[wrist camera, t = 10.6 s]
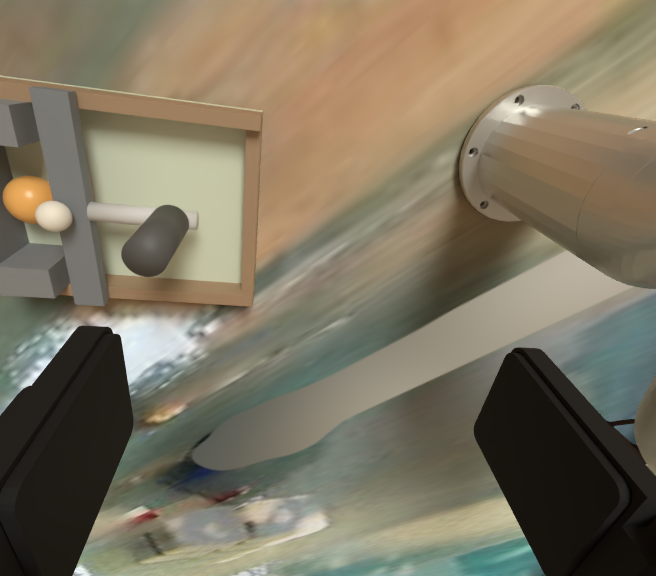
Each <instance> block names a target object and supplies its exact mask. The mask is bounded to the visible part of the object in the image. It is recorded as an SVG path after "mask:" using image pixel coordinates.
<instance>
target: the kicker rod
mask: <svg viewBox="0 0 656 576" xmlns="http://www.w3.org/2000/svg"><path fill="white" fill-rule="evenodd" d="M29 91H30V96H31V101H32V105H33V110H34V115H35V119H36V124H37V129H38V133H39V138H40V143H41V147H42V152H43V157H44V161H45V166H46V171H47V175H48V180H49V185H50V189H51V194H52V199H53V201H46V202H44V203H42V204H40V205H39V206H38V207H37V209H36V212H35V218H36V221H37V222H38V224H39V225H40V226H41V227H42V228H44V229H46V230H48V231H52V232H60V236H61V241H62V246H63V250H64V255H65V260H66V264H67V269H68V274H69V278H70V283H71V288H72V292H73V297H74V302H75V305H90V306H105V305H106V303H107V302H108V301H109V295H108V289H107V283H106V277H105V271H104V265H103V258H102V252H101V246H100V240H99V234H98V228H97V226H98V222H107V223H118V224H130V225H141V226H140V227H139V228H138V230H137V231H136V232H135V233H134V234H133V235H132V236H131V237H130V238H129V240H128V241H127V242H126V243H125V244H124V246H123V248H122V251H121V257H122V260H123V262H124V264H125V266H126V267H127V268H128V269H129V270H130V271H132V272H133V273H135V274H137V275H140V276H143V277H153V276H157V275H159V274H161V273H162V272H163V271H164V270H165V269H166V267H167V265H168V263H169V262H170V260H171V258H172V257H173V255H174V253H175V252H176V250H177V248H178V246H179V245H180V243H181V241H182V240H183V238H184V236H185V234H186V233H187V231H188V230H197V229H198V225H199V214H198V212H196V211H185V210H181V209H180V208H178V207H176V206H173V205H162V206H160V207H158V208H153V207H143V206H132V205H121V204H111V203H100V202H94V197H93V191H92V185H91V179H90V173H89V171H88V166H87V160H86V154H85V148H84V141H83V135H82V129H81V123H80V117H79V111H78V105H77V98H76V92H75V91H70V90H63V89H55V88H48V87H40V86H35V87H29Z"/></svg>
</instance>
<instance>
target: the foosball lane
mask: <svg viewBox="0 0 656 576" xmlns="http://www.w3.org/2000/svg"><path fill="white" fill-rule="evenodd" d="M35 86H40V87H48V88H55V89H63V90H70V91H75V92H76V98H77V105H78V111H79V117H80V123H81V129H82V135H83V141H84V148H85V154H86V160H87V166H88V171H89V173H90V179H91V185H92V191H93V197H94V202H100V203H111V204H121V205H132V206H143V207H153V208H158V207H160V206H162V205H173V206H176V207H178V208H180V209H181V210H185V211H196V212H198V214H199V225H198V229H197V230H188V231H187V233H186V234H185V236H184V238H183V240H182V241H181V243H180V245H179V246H178V248H177V250H176V252H175V253H174V255H173V257H172V258H171V260H170V262H169V263H168V265H167V267H166V269H165V270H164V271H163V272H162V273H161V274H159V275H157V276H153V277H143V276H140V275H137V274H135V273H133V272H132V271H130V270H129V269H128V268H127V267H126V266H125V264H124V262H123V260H122V257H121V251H122V248H123V246H124V244H125V243H126V242H127V241H128V240H129V238H130V237H131V236H132V235H133V234H134V233H135V232H136V231H137V230H138V228H139V227H140V226H141V225H130V224H118V223H107V222H98V226H97V228H98V234H99V240H100V246H101V252H102V258H103V265H104V271H105V277H106V283H107V289H108V295H109V298H118V299H135V300H152V301H168V302H185V303H201V304H218V305H234V306H251V307H252V305H253V297H254V290H255V270H256V249H257V229H258V208H259V187H260V167H261V146H262V125H263V111H260V110H253V109H245V108H238V107H230V106H223V105H215V104H208V103H201V102H193V101H186V100H178V99H171V98H163V97H156V96H149V95H141V94H134V93H126V92H119V91H112V90H104V89H97V88H89V87H82V86H74V85H67V84H60V83H52V82H45V81H37V80H30V79H23V78H15V77H8V76H0V295H4V296H21V297H38V298H56V297H57V296H58V295H69V296H73V292H72V288H71V283H70V278H69V274H68V269H67V264H66V260H65V255H64V250H63V246H62V241H61V236H60V232H52V231H48V230H46V229H44V228H42V227H41V226H40V225H39V224H30V223H26V222H23V221H20V220H18V219H17V218H15V217H14V216H12V215H11V214H10V213H9V212H8V210H7V209H6V207H5V205H4V203H3V191H4V188H5V187H6V185H7V184H8V183H9V182H10V181H11V180H13V179H15V178H17V177H20V176H37V177H40V178H43V179H45V180H47V181H49V180H48V175H47V171H46V166H45V161H44V157H43V152H42V147H41V143H40V138H39V133H38V129H37V124H36V119H35V115H34V110H33V105H32V101H31V96H30V91H29V87H35Z"/></svg>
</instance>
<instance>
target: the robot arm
mask: <svg viewBox="0 0 656 576" xmlns="http://www.w3.org/2000/svg"><path fill="white" fill-rule="evenodd" d="M515 98H517V100H516V102H515ZM470 149H472V151H471V153H469V151H470ZM459 179H460V183H461V188H462V190H463V193H464V195H465V197H466V199H467V200H468V201H469V203H470V204H471V205H472V206H473V207H474V208H475V209H476V210H477V211H479V212H480V213H482V214H483V215H485V216H487V217H488V218H491V219H494V220H497V221H504V222H514V221H524V222H525V223H527V224H528V225H530V226H531V227H533V228H534V229H536V230H537V231H539V232H540V233H542V234H543V235H545V236H547V237H548V238H550V239H551V240H553V241H554V242H556V243H557V244H559V245H560V246H562V247H563V248H565V249H566V250H568V251H570V252H571V253H572V254H574V255H576V256H577V257H579V258H580V259H582V260H583V261H585V262H586V263H588V264H589V265H591V266H593V267H595V268H596V269H598V270H599V271H601V272H602V273H604V274H605V275H607V276H609V277H611V278H613V279H615V280H616V281H619V282H622V283H625V284H627V285H632V286H635V287H641V288H648V289H656V121H651V120H644V119H638V118H631V117H624V116H618V115H611V114H605V113H598V112H591V111H587V109H586V107H585V106H584V104H583V102H582V101H581V100H580V99H579V98H578V97H577V96H576V95H575V94H573V93H571V92H570V91H568V90H567V89H564V88H561V87H557V86H554V85H543V84H542V85H529V86H525V87H522V88H518V89H515V90H513V91H511V92H509V93H507V94H505V95H503V96H502V97H501V98H499V99H498V100H496V101H495V102H494V103H492V104H491V105H490V106H489V107H488V108H487V109H486V110H485V111H484V112H483V113H482V114H481V115H480V117H479V118H478V119H477V121H476V122H475V123H474V125H473V126H472V128H471V130H470V132H469V133H468V135H467V137H466V139H465V142H464V145H463V148H462V151H461V155H460V162H459ZM481 202H482V204H481ZM132 429H133V413H132V407H131V400H130V394H129V387H128V381H127V374H126V368H125V361H124V355H123V348H122V342H121V337H120V335H119V334H113V332H112V330H111V328H109V327H98V326H79V327H78V328H77V329H76V330H75V331H74V333H73V334H72V335H71V336H70V338H69V339H68V340H67V341H66V343H65V344H64V345H63V346H62V348H61V349H60V350H59V352H58V353H57V354H56V355H55V357H54V358H53V359H52V360H51V362H50V363H49V364H48V365H47V367H46V368H45V369H44V371H43V372H42V373H41V374H40V376H39V377H38V378H37V379H36V381H35V382H34V383H33V384H32V386H28V387H26V388H24V389H23V390H22V391H21V392H20V393H19V394H18V395H17V396H16V397H15V398H14V399H13V401H12V402H11V403H10V404H9V406H8V407H7V408H6V409H5V411H4V412H3V413H2V414H1V416H0V576H72V575H73V573H74V570H75V568H76V566H77V563H78V561H79V558H80V556H81V554H82V551H83V549H84V546H85V544H86V542H87V539H88V537H89V534H90V532H91V530H92V527H93V525H94V522H95V520H96V518H97V515H98V513H99V510H100V508H101V506H102V503H103V501H104V498H105V496H106V494H107V491H108V489H109V486H110V484H111V482H112V479H113V477H114V474H115V472H116V470H117V467H118V465H119V462H120V460H121V458H122V455H123V453H124V450H125V448H126V446H127V443H128V441H129V438H130V436H131V433H132ZM634 431H635V439H636V443H637V445H638V448H639V450H640V453H641V455H642V457H643V459H644V460H645V462H646V463H647V465H648V466H649V467H650V469H651V470H652V471H653V472H654V474H655V475H656V376H655V377H654V379H653V380H652V382H651V384H650V385H649V387H648V389H647V391H646V392H645V394H644V396H643V399H642V401H641V403H640V405H639V407H638V410H637V413H636V417H635V423H634ZM474 435H475V439H476V441H477V443H478V445H479V447H480V449H481V451H482V453H483V455H484V457H485V458H486V460H487V462H488V464H489V466H490V468H491V470H492V472H493V474H494V476H495V478H496V480H497V482H498V484H499V486H500V488H501V490H502V492H503V494H504V496H505V498H506V500H507V502H508V504H509V506H510V507H511V509H512V511H513V513H514V515H515V517H516V519H517V521H518V523H519V525H520V527H521V529H522V531H523V533H524V535H525V537H526V539H527V541H528V543H529V545H530V547H531V549H532V551H533V553H534V555H535V556H536V558H537V560H538V562H539V564H540V566H541V568H542V570H543V572H544V573H545V575H546V576H656V476H655V475H654V474H653V472H652V471H651V470H650V469H649V468H648V467H647V466H646V465H645V464H644V462H643V461H642V460H641V459H640V458H639V457H638V456H637V455H636V454H635V453H634V451H633V450H632V449H631V448H630V447H629V446H628V445H627V444H626V443H625V441H624V440H623V439H622V438H621V437H620V436H619V435H618V434H617V433H616V431H615V430H614V429H613V428H612V427H611V426H610V425H609V424H608V423H607V421H606V420H605V419H604V418H603V417H602V416H601V415H600V414H599V413H598V412H597V410H596V409H595V408H594V407H593V406H592V405H591V404H590V403H589V402H588V400H587V399H586V398H585V397H584V396H583V395H582V394H581V393H580V392H579V390H578V389H577V388H576V387H575V386H574V385H573V384H572V383H571V382H570V381H569V379H568V378H567V377H566V376H565V375H564V374H563V373H562V372H561V371H560V369H559V368H558V367H557V366H556V365H555V364H554V363H553V362H552V361H551V359H550V358H549V357H548V356H547V355H546V354H545V353H544V352H543V351H542V350H541V349H537V348H515V349H513V350H512V352H511V353H508V354H507V355H506V356H505V358H504V361H503V363H502V365H501V367H500V369H499V372H498V374H497V376H496V378H495V381H494V383H493V385H492V387H491V389H490V392H489V394H488V396H487V398H486V400H485V403H484V405H483V407H482V409H481V412H480V414H479V416H478V418H477V420H476V423H475V425H474Z"/></svg>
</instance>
